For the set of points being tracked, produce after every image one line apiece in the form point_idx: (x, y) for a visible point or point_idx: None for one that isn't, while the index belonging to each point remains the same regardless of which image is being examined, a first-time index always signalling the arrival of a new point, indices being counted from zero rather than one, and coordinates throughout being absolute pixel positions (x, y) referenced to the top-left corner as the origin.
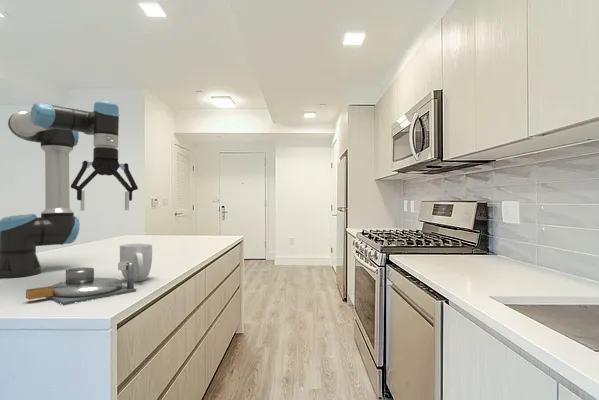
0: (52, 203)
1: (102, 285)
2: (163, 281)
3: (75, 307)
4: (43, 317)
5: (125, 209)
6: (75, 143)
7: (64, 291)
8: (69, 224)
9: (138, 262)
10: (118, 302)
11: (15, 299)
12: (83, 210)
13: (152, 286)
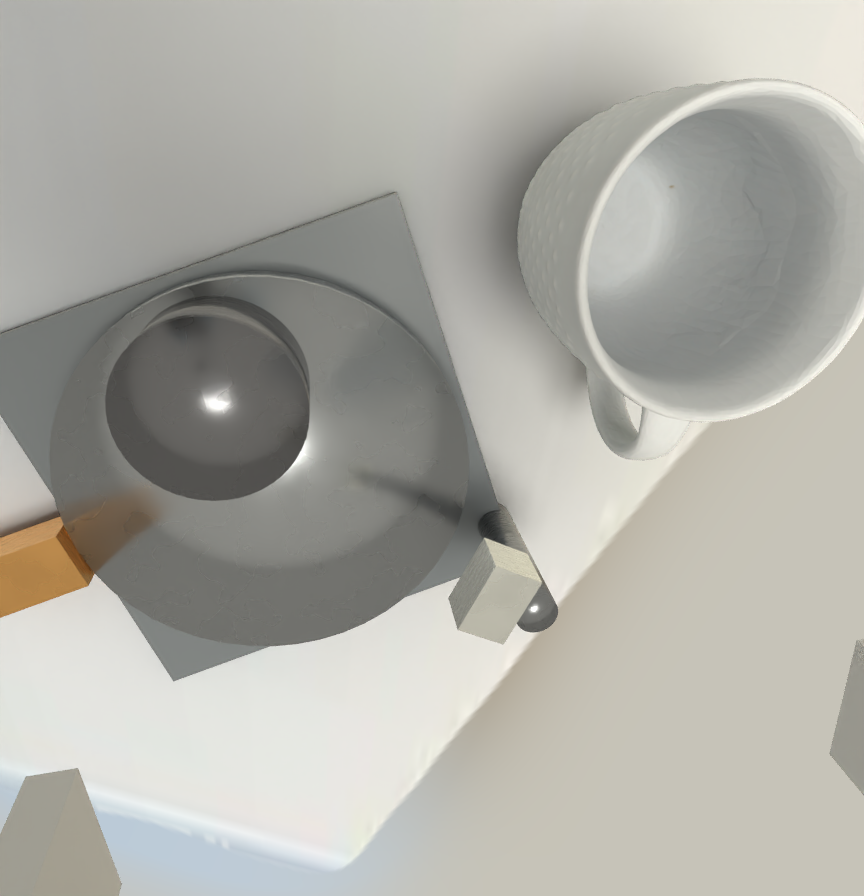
0: None
1: (352, 554)
2: None
3: (231, 719)
4: (126, 803)
5: (855, 697)
6: None
7: (158, 618)
8: None
9: (620, 456)
10: (402, 708)
11: None
12: (106, 886)
13: (618, 470)
